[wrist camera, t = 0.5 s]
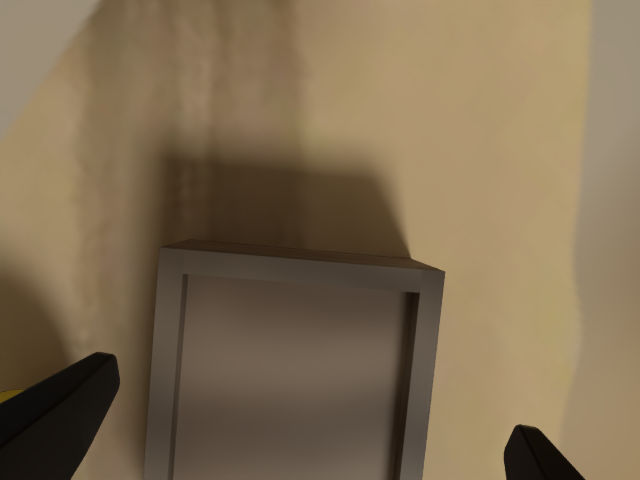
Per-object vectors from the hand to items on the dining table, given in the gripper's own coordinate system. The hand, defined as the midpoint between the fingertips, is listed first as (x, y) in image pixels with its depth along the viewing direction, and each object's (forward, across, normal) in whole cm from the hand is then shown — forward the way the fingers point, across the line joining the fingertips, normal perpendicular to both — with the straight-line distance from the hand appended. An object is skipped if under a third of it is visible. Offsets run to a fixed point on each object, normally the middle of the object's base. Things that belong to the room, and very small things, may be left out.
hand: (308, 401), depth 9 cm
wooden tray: (+10, +2, +11) cm, 15 cm away
